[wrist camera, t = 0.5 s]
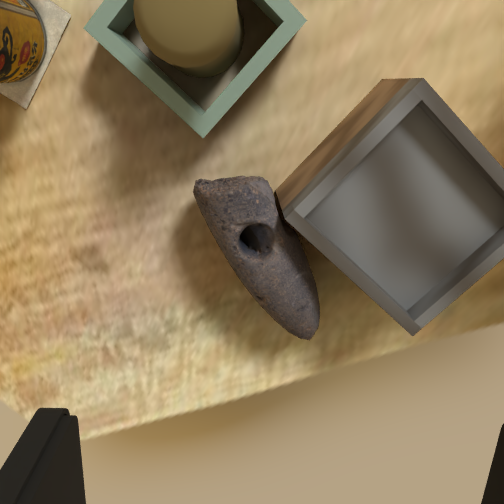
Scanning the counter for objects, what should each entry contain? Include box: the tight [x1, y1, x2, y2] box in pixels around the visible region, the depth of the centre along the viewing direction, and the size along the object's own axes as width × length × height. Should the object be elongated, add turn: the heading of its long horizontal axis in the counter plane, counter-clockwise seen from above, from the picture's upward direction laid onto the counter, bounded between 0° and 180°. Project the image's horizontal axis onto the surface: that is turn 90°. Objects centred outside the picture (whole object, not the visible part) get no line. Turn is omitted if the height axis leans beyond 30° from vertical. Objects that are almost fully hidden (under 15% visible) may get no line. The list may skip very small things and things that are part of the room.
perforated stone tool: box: [193, 176, 320, 340], centre depth 35 cm, size 15×5×7 cm, turn 27°
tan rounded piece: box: [133, 0, 245, 78], centre depth 27 cm, size 6×6×11 cm
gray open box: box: [276, 78, 504, 336], centre depth 33 cm, size 11×12×8 cm
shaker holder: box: [84, 0, 307, 138], centre depth 31 cm, size 10×10×4 cm
